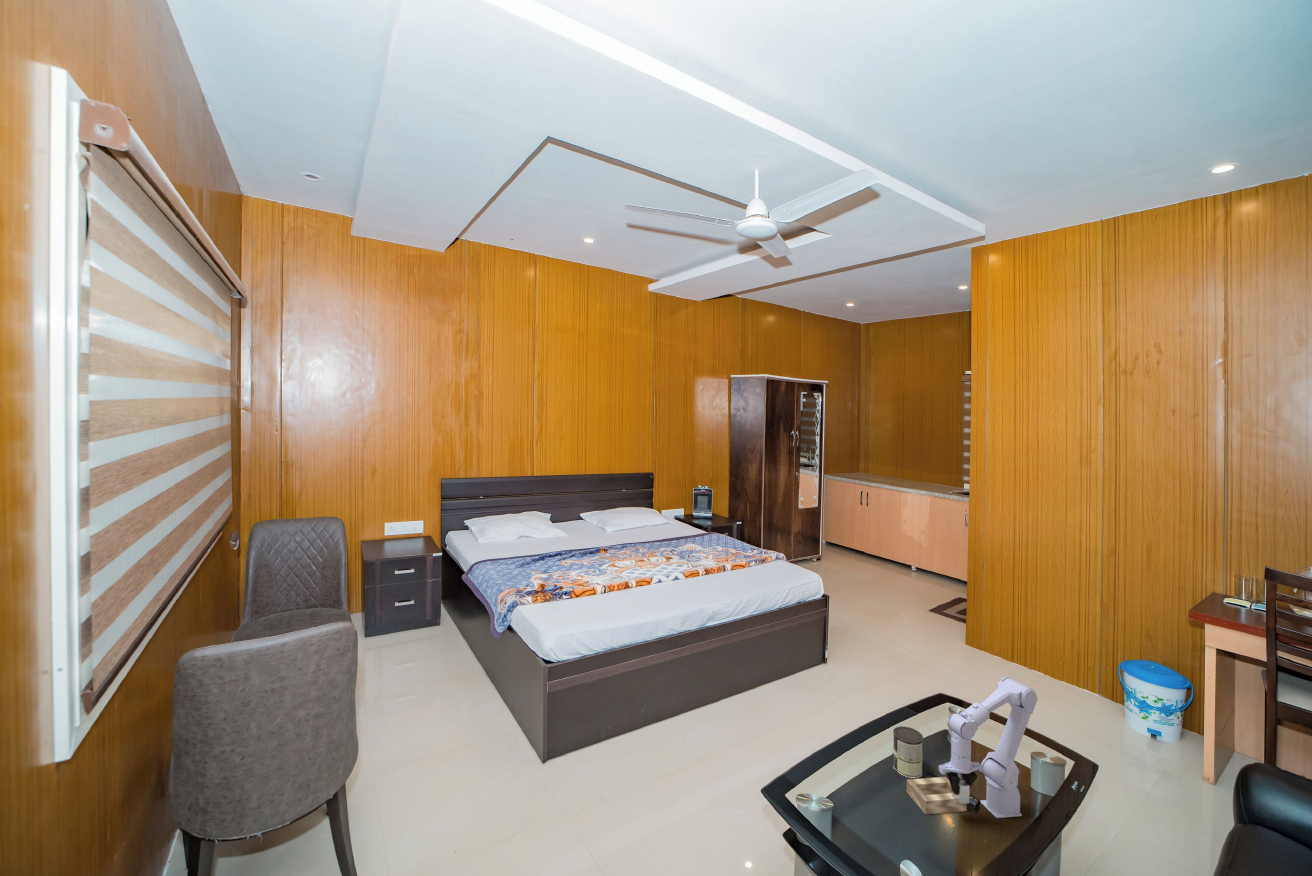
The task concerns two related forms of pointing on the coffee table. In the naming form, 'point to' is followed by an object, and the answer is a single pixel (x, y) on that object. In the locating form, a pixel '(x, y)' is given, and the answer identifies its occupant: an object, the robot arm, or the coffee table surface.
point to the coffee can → (908, 752)
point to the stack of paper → (962, 792)
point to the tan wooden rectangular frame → (934, 795)
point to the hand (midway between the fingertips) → (960, 792)
